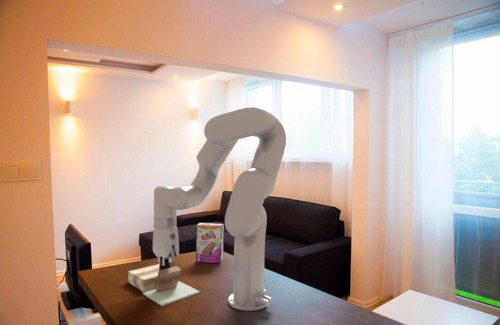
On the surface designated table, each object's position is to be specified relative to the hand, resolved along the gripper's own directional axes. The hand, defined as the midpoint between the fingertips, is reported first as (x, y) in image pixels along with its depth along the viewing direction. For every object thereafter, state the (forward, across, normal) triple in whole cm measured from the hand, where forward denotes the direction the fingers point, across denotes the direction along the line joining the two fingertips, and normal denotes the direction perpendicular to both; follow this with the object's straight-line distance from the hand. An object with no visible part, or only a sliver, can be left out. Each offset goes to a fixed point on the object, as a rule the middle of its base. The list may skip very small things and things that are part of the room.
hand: (164, 276), depth 110 cm
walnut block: (0, -2, 0) cm, 2 cm away
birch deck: (+4, +8, 0) cm, 10 cm away
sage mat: (+4, -4, 0) cm, 6 cm away
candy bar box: (+5, +14, -30) cm, 33 cm away
